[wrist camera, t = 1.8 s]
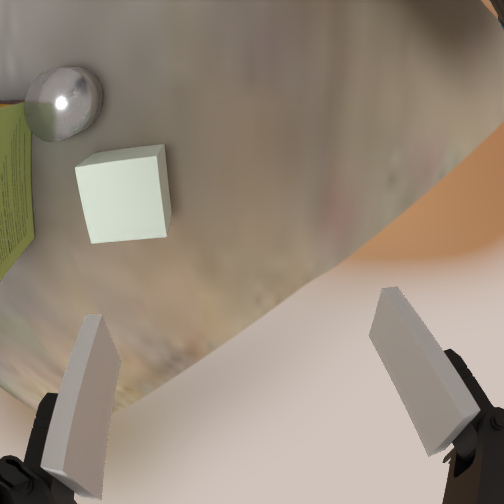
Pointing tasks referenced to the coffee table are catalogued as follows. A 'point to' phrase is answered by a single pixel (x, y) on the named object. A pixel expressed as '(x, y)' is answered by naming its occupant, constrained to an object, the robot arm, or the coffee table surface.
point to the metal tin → (62, 103)
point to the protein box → (14, 184)
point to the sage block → (125, 194)
